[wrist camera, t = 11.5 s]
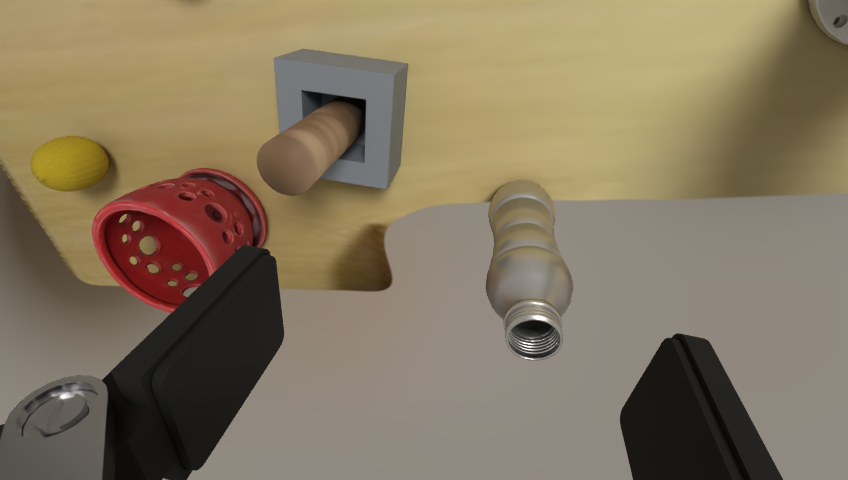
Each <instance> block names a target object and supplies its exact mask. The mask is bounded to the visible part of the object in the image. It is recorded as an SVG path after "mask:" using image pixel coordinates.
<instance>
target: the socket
mask: <svg viewBox="0 0 848 480" xmlns="http://www.w3.org/2000/svg"><path fill="white" fill-rule="evenodd" d="M274 68H275V80H276V92H277V104H278V116H279V128H280V133H282V132H283V131H285V130H286V129H288V128H289V127H291V126H292V125H294V124H295V123H297V122H299V121H300V120H302V119H303V118H305V117H306V116H308V115H309V114H311V113H312V112H314V111H316V110H317V109H319V108H320V107H322V106H323V105H325V104H326V103H328V102H329V101H331V100H332V99H334V98H336V97H337V96H346V97H353V98H359V99H364V100H365V101H366V128H365V132H364V133H363V134H362V135H361V136H360V137H359V138H358V139H357V140H356V141H355V142H354V143H353V144H352V145H351V146H350V147H349V148H348V149H347V150H346V151H345V152H344V153H343V154H342V155H341V156H340V157H339V158H338V159H337V160H336V161H335V162H334V163H333V164H332V165H331V166H330V167H329V168H328V169H327V170H326V171H325V173H324V174H323V175H322V176H321V177H320V178H321V179H327V180H333V181H339V182H345V183H351V184H357V185H363V186H370V187H376V188H382V189H387V188H388V187H389V185H390V183H391V181H392V179H393V178H394V176H395V174H396V172H397V170H398V169H399V167H400V161H401V148H402V135H403V122H404V110H405V97H406V84H407V71H408V63H401V62H393V61H386V60H379V59H372V58H365V57H358V56H351V55H344V54H336V53H329V52H322V51H315V50H308V49H301V50H298V51H295V52H291V53H288V54H285V55H282V56H279V57H275V58H274Z"/></svg>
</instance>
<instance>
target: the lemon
mask: <svg viewBox="0 0 848 480" xmlns="http://www.w3.org/2000/svg"><path fill="white" fill-rule="evenodd" d="M30 164H31V170H32V173H33V175H34V176H35V178H36V179H37V180H38V181H39V182H40V183H42V184H43V185H45V186H47V187H49V188H51V189H54V190H58V191H76V190H80V189H84V188H87V187H90V186H92V185H94V184H96V183H97V182H98V181H100V180H101V179H102V178H103V177H104V176H105V174H106V173H107V171H108V167H109V160H108V156H107V154H106V152H105V151H104V150H103V148H102V147H101V146H100V145H98V144H97V143H95V142H94V141H92V140H90V139H87V138H84V137H79V136H66V137H60V138H56V139H53V140H51V141H49V142H47V143H45V144H44V145H42V146H41V147H39V148H38V149H37V150H36V151H35V153H34V154H33V155H32V158H31V163H30Z"/></svg>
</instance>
